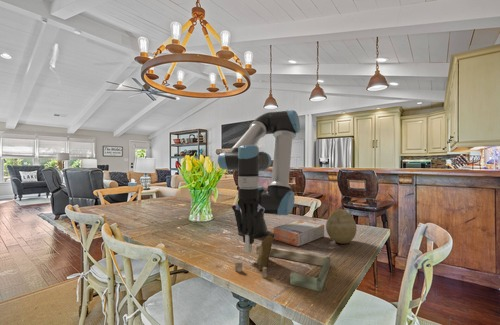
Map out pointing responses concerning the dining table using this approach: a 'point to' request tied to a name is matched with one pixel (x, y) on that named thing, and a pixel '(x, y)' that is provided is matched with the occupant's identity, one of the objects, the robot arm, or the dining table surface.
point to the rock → (264, 252)
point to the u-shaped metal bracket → (302, 257)
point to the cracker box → (298, 232)
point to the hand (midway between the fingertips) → (248, 251)
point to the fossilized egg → (341, 226)
